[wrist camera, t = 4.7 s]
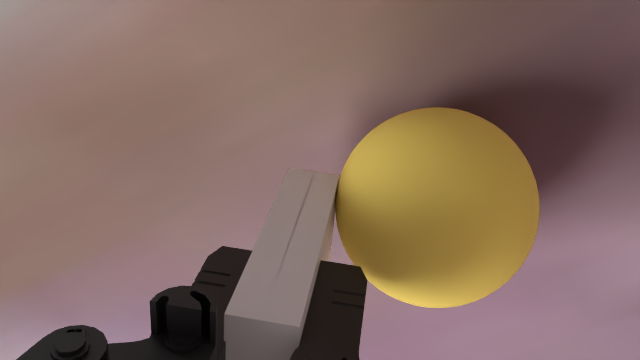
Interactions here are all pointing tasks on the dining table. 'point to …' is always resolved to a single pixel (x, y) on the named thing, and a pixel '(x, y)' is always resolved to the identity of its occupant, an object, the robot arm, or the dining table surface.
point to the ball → (437, 207)
